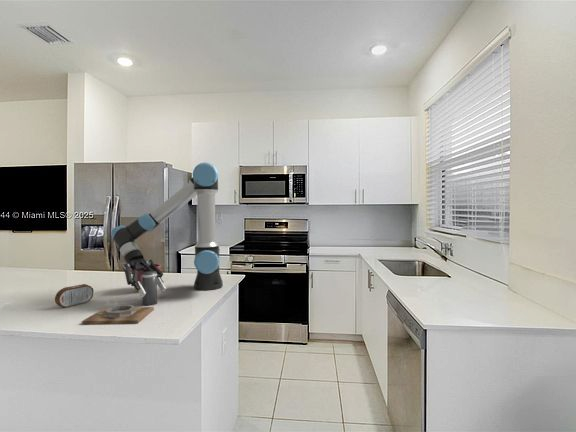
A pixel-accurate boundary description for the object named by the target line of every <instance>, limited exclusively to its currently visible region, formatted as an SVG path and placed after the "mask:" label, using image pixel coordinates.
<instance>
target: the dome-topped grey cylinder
mask: <svg viewBox="0 0 576 432" xmlns="http://www.w3.org/2000/svg"><path fill="white" fill-rule="evenodd" d="M142 287H143V289H144V290H145V292H146V294H145V295H144V297H141V298H142V302H141V303H142V306H143V307H152V306H155V305H157V304H158V285H157V272H156V271H147V272H143V273H142Z"/></svg>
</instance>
